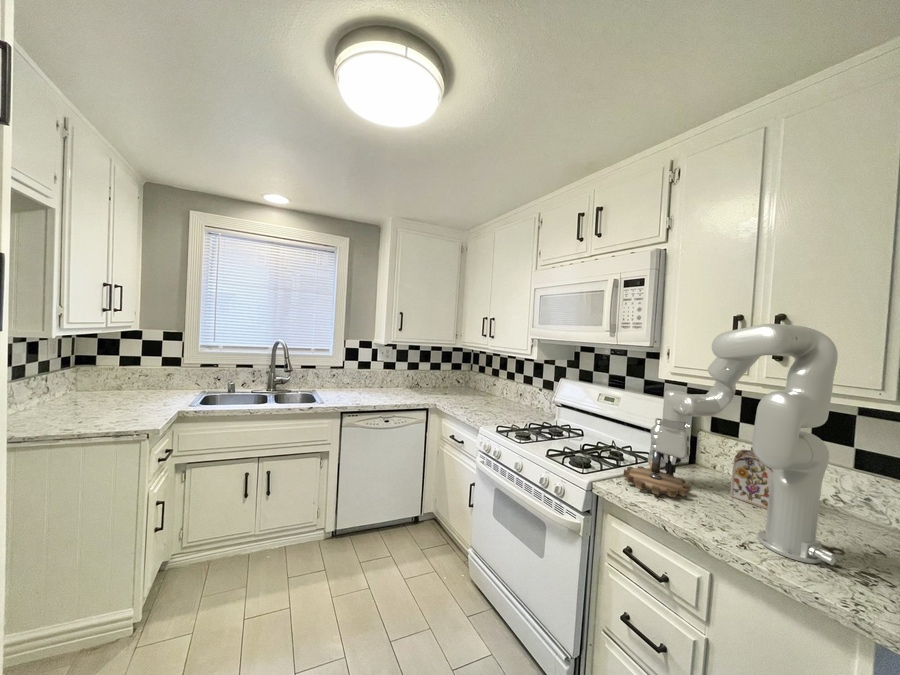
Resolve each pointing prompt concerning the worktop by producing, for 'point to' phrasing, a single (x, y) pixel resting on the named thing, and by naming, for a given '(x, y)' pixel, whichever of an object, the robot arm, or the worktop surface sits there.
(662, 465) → the plastic bottle
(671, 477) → the sprocket
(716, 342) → the robot arm
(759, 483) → the decorative jar
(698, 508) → the worktop surface
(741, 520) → the worktop surface
